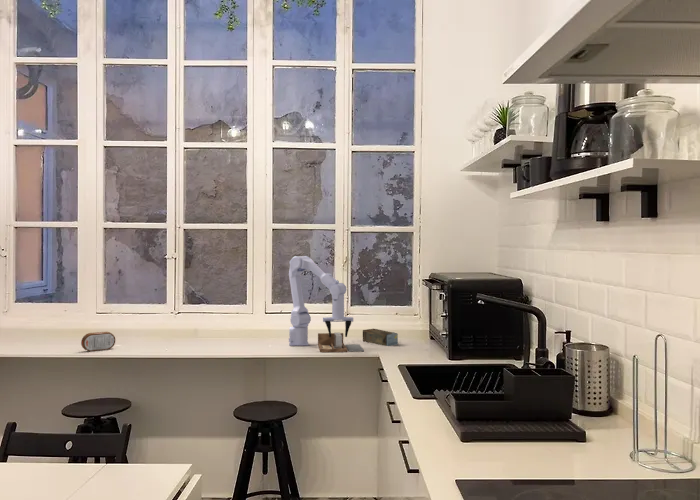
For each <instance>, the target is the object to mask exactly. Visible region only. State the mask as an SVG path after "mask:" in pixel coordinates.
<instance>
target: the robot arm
mask: <svg viewBox="0 0 700 500" xmlns="http://www.w3.org/2000/svg"><path fill="white" fill-rule="evenodd" d="M288 270H289V271H288V277H289V278H288V279H289V286H290V291H291V292H290V293H291V299H292V306H293V307H292V308H293V309H292V310H291V312H290V318H289V319H290V324H291V326H289V328H288V332H289V338H288V343H289V346H290V347H291V346H296V347H297V346H309V345H310V343H309V341H308V339H309V337H308V336H309V324H310V323H311V315H310V313H309V310H308V308H307V307H306V306H305V300H304V293H303V285H302V280H301V275H302V274H303V273H304V272H305V271H306V270H308V271H310V272H312V273H313V274H314V275H315V276H317V277H318V278H319V279H320V283H322V285H324V286H325V288H327V289H328V290H329V292H330V294H331V299H332V300H331V303H332V304H331V305H332V307H331V311H332V312H331V317H326V316H325V317H322V322H323V323H325V325H326V328H327V331H328V332H327V333H329V337H331V333H332V324H331V323H332V322H333V323H337V322H341V323H342V322H344V325H345V326H344V327H345V331H344V332H345V334H344V337H346V338H347V337H348V333H349V330H350V327H351V325H352V323H353V322H354V317H353V316H345V294H346V292H347V286H346V285H345V283H344V282H339V280H338V279H336V278H335V277H334V276H333V274H332V273H329V272H326V273H325V271H323V269H321V267H320V266H318V264H316V263H315V262H314V260H313V259H312V258H311V257H310V256H308V255H300V256H299V255H295V256H293V257H292V258H291V259H290V260H289V269H288Z"/></svg>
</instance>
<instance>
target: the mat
mask: <svg viewBox="0 0 700 500" xmlns="http://www.w3.org/2000/svg"><path fill="white" fill-rule="evenodd" d="M344 345H345V346H346V348H347V352H349V353H350V352H351V353H352V352H356V353H357V352H358V353H359V352H365V350H364V349H363V347H362V346H361V345H360V344H358V343H353V344H351V343H350V344H347V343H346V344H345V343H344Z"/></svg>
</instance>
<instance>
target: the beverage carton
mask: <svg viewBox="0 0 700 500" xmlns="http://www.w3.org/2000/svg"><path fill="white" fill-rule="evenodd" d="M398 337H399V334H398V333H397V332H394V331H388V330H383V329H378V328H368V329H363V330H362V342H365V341H366V343H369V342H370V344H376V345H378V346H379V345H380V346H386V347H389V346H397V345H398V344H399V343H398V342H399V338H398Z"/></svg>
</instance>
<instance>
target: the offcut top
mask: <svg viewBox="0 0 700 500" xmlns="http://www.w3.org/2000/svg"><path fill="white" fill-rule="evenodd" d="M322 348H323V349H332V347H331V346H329V345H322Z"/></svg>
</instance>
